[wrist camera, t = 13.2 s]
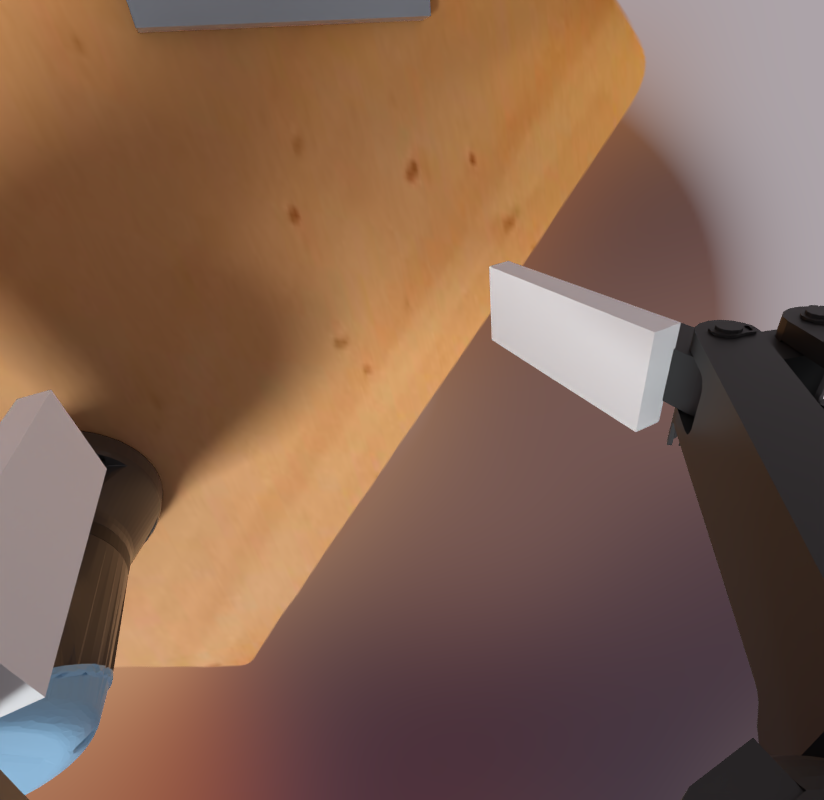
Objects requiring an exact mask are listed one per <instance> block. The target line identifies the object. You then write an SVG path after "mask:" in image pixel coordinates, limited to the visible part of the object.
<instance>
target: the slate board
mask: <svg viewBox="0 0 824 800" xmlns="http://www.w3.org/2000/svg"><path fill="white" fill-rule="evenodd" d="M126 1H127V4H128V7H129V9H130V12H131V15H132V18H133V21H134V24H135V27H136V29H137V31H138V32H139V33H146V32H169V31H191V30H214V29H237V28H260V27H283V26H306V25H329V24H351V23H374V22H397V21H420V20H424V19H426V18H428V17H430V16H431V8H430V0H126Z"/></svg>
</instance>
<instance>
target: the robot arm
mask: <svg viewBox="0 0 824 800" xmlns="http://www.w3.org/2000/svg"><path fill="white" fill-rule="evenodd" d="M489 271H490V300H491V327H492V340H493V341H495V342H496V343H498V344H499V345H501V346H502V347H504V348H505V349H507V350H509V351H510V352H512V353H513V354H515V355H516V356H518V357H520V358H521V359H523V360H524V361H526V362H528V363H529V364H530V365H532V366H534V367H535V368H537V369H538V370H540V371H541V372H543V373H544V374H546V375H548V376H549V377H551V378H552V379H554V380H555V381H557V382H559V383H560V384H562V385H563V386H565V387H567V388H568V389H569V390H571V391H573V392H574V393H576V394H577V395H579V396H580V397H582V398H584V399H585V400H587V401H588V402H590V403H591V404H593V405H594V406H596V407H598V408H599V409H601V410H602V411H604V412H605V413H607V414H608V415H610V416H612V417H613V418H615V419H616V420H618V421H619V422H621V423H623V424H624V425H626V426H627V427H629V428H630V429H632V430H634V431H635V432H637V431H639V430H641V429H644V428H646V427H648V426H650V425H653V424H655V423H657V422H659V418H660V413H661V409H662V405H663V401H665V402H666V403H668V404H670V405H672V406H674V407H675V410H674V414H673V418H672V422H671V427H670V431H669V435H668V439H667V445H672V442H673V439H674V438H676V437H677V436H678V439H679V446H681V449H682V452H683V455H684V458H685V461H686V464H687V468H688V471H689V474H690V477H691V481H692V483H693V487H694V490H695V493H696V496H697V500H698V502H699V506H700V509H701V512H702V515H703V519H704V522H705V525H706V528H707V531H708V534H709V538H710V541H711V544H712V547H713V550H714V553H715V557H716V560H717V563H718V566H719V569H720V573H721V575H722V579H723V582H724V585H725V588H726V591H727V595H728V598H729V601H730V604H731V607H732V611H733V614H734V616H735V620H736V623H737V626H738V630H739V633H740V636H741V639H742V642H743V645H744V649H745V652H746V655H747V658H748V661H749V665H750V668H751V671H752V674H753V677H754V680H755V684H756V688H757V693H758V701H759V704H758V720H757V721H758V722H757V730H758V740H759V744H758V743H757V742H756V740H755V739H754V738H752V739H751V740H750V741H748V742H747V743H746V744H744V745H743V746H742V747H740V748H739V749H738V750H736V751H735V752H734V753H733V754H731V755H730V756H729V757H727V758H726V759H725V760H724V761H722V762H721V763H720V764H719V765H717V766H716V767H714V768H713V769H712V770H711V771H709V772H708V773H707V774H705V775H704V776H703V777H702V778H700V779H699V780H698V781H696V782H695V783H694V784H692V785H691V786H690V787H689V788H688V790H687V791H686V793H685V794H684V796H683V797H682V799H681V800H824V399H823V396H824V306H816V305H810V306H808V307H795V308H790V309H788V310H786V311H784V312H783V314H782V317H781V320H780V323H779V326H778V329H777V330H771V331H764V332H761V331H760V330H758V329H757V328H755V327H754V326H752V325H749V324H745V323H741V322H736V321H729V320H714V321H707V322H703V323H700V324H698V325H697V326H696V327H695V328H694V327H691V326H688V325H685V324H683V323H680V322H678V321H675V320H672V319H669V318H667V317H664V316H661V315H658V314H655V313H652V312H649V311H647V310H644V309H641V308H639V307H636V306H633V305H630V304H627V303H625V302H622V301H619V300H616V299H613V298H611V297H607V296H605V295H602V294H599V293H596V292H594V291H591V290H588V289H585V288H583V287H580V286H577V285H574V284H571V283H569V282H566V281H563V280H560V279H557V278H554V277H552V276H549V275H546V274H543V273H541V272H538V271H535V270H532V269H529V268H527V267H524V266H521V265H518V264H515V263H513V262H510V261H507V262H503V263H500V264H496V265H493V266H489ZM162 498H163V489H162V484H161V480H160V478H159V475H158V473H157V472H156V470H155V468H154V467H153V466H152V464H151V463H150V462H149V461H148V460H147V459H146V458H145V457H144V456H143V455H141V454H140V453H139V452H137V451H136V450H135V449H133V448H131V447H130V446H128V445H126V444H124V443H122V442H120V441H117V440H115V439H112V438H109V437H106V436H103V435H99V434H95V433H89V432H83V431H80V430H79V429H78V427H77V426H76V424H75V423H74V421H73V420H72V419H71V417H70V416H69V414H68V413H67V412H66V410H65V409H64V407H63V406H62V404H61V403H60V402H59V400H58V399H57V397H56V396H55V394H54V393H53V392H52V390H48V391H44V392H41V393H37V394H34V395H30V396H27V397H23V398H19V399H17V400H16V401H15V402H14V404H13V405H12V407H11V408H10V410H9V411H8V412H7V414H6V415H5V417H4V418H3V420H2V421H1V422H0V800H28V798H27V797H26V796H25V795H26V794H28V793H30V792H32V791H33V790H35V789H37V788H39V787H40V786H42V785H43V784H45V783H46V782H48V781H49V780H51V779H52V778H54V777H55V776H57V775H58V774H59V773H61V772H62V771H63V770H65V769H66V768H67V767H68V766H69V765H71V764H72V763H73V762H74V761H75V760H76V759H77V758H78V757H79V756H80V755H81V753H82V752H83V751H84V750H85V749H86V747H87V746H88V745H89V743H90V742H91V740H92V738H93V737H94V735H95V732H96V730H97V728H98V725H99V722H100V718H101V714H102V710H103V706H104V702H105V699H106V695H107V691H108V689H109V688H110V686H111V684H112V680H113V669H114V663H115V657H116V650H117V644H118V637H119V631H120V625H121V618H122V612H123V606H124V599H125V593H126V587H127V580H128V574H129V569H130V565H131V563H132V562H133V560H134V559H135V557H136V555H137V554H138V552H139V551H140V549H141V547H142V546H143V544H144V543H145V542H146V541H147V540H148V538H149V537H150V536H151V534H152V533H153V531H154V529H155V527H156V525H157V523H158V520H159V517H160V513H161V506H162Z"/></svg>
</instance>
